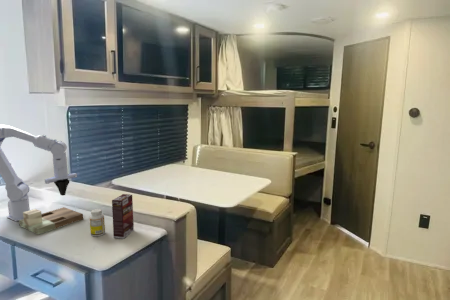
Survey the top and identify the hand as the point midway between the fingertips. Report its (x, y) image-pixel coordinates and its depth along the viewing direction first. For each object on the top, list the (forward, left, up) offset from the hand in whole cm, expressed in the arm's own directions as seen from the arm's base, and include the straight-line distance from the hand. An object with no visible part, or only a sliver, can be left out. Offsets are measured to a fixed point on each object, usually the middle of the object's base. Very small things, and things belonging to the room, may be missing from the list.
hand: (62, 194), depth 150 cm
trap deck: (+6, -9, -9) cm, 14 cm away
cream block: (+6, -17, -7) cm, 19 cm away
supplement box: (+43, +1, -10) cm, 44 cm away
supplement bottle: (+34, -5, -10) cm, 36 cm away
